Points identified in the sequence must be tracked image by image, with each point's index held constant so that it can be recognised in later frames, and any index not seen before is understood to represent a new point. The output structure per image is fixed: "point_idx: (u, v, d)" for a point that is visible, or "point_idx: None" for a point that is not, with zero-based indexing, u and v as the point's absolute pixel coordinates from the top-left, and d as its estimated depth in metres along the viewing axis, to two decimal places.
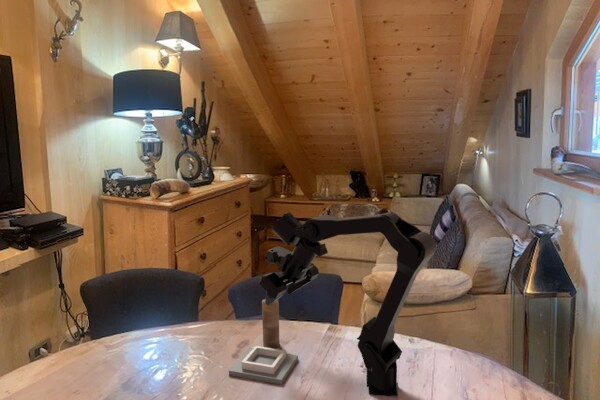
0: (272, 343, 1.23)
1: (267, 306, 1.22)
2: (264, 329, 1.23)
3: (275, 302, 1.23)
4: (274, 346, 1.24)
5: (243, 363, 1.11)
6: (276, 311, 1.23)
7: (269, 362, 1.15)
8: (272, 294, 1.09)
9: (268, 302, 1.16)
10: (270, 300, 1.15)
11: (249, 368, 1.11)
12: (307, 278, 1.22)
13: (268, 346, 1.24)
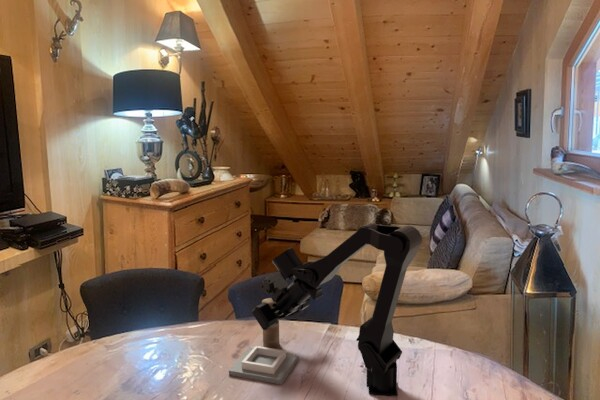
0: (272, 343, 1.23)
1: None
2: None
3: (275, 302, 1.23)
4: (274, 346, 1.24)
5: (243, 363, 1.11)
6: None
7: (269, 362, 1.15)
8: (262, 326, 1.13)
9: None
10: None
11: (249, 368, 1.11)
12: None
13: (268, 346, 1.24)
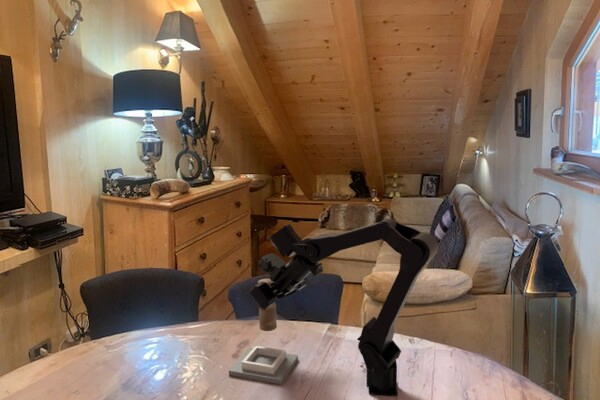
0: (270, 325, 1.19)
1: None
2: (261, 310, 1.19)
3: (272, 282, 1.19)
4: (271, 328, 1.20)
5: (243, 363, 1.11)
6: None
7: (269, 362, 1.15)
8: (262, 305, 1.09)
9: (259, 305, 1.18)
10: None
11: (249, 368, 1.11)
12: None
13: (265, 328, 1.20)
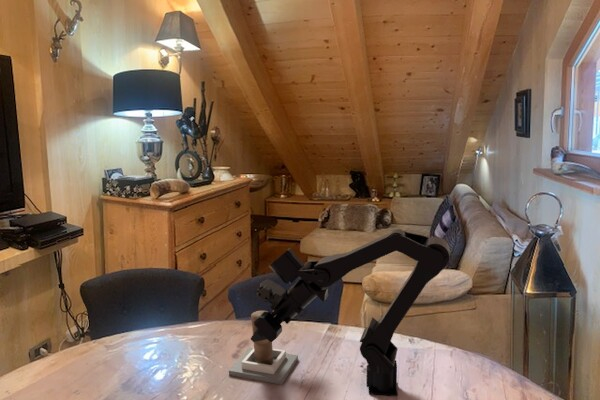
0: (268, 359, 1.12)
1: None
2: (258, 346, 1.11)
3: None
4: (270, 362, 1.13)
5: (243, 363, 1.11)
6: None
7: None
8: (269, 338, 1.02)
9: (255, 339, 1.09)
10: (259, 338, 1.08)
11: (249, 368, 1.11)
12: None
13: None
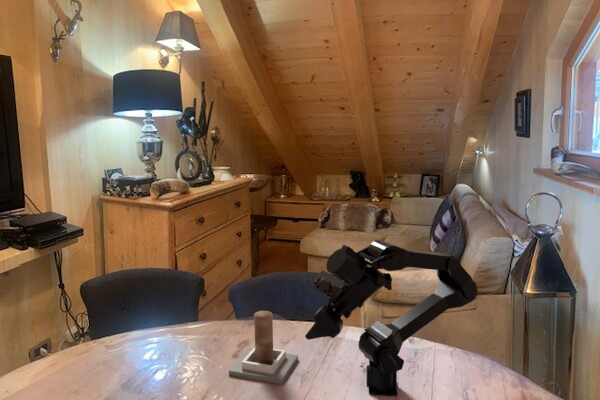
0: (268, 360, 1.12)
1: (263, 319, 1.10)
2: (259, 345, 1.12)
3: (269, 314, 1.12)
4: (270, 363, 1.13)
5: (243, 363, 1.11)
6: (271, 324, 1.12)
7: None
8: (331, 334, 0.94)
9: (311, 336, 1.00)
10: (316, 335, 0.99)
11: (249, 368, 1.11)
12: None
13: None
